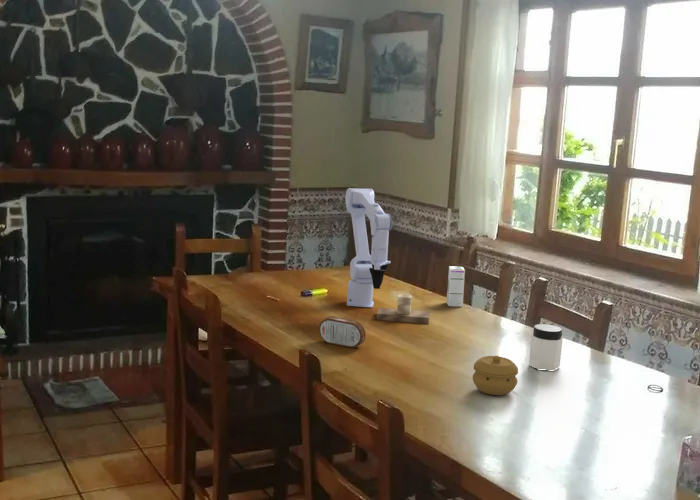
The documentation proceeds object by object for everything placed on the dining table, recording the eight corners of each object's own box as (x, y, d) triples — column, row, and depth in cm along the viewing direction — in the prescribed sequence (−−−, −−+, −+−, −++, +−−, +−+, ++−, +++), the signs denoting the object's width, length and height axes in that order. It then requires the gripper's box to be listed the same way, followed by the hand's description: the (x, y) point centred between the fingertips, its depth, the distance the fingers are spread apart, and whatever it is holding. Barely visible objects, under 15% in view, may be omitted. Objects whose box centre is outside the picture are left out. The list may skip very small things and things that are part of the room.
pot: (469, 383, 220) (472, 348, 219) (512, 386, 220) (515, 350, 218) (474, 398, 209) (477, 361, 207) (519, 401, 209) (523, 364, 207)
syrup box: (462, 307, 306) (466, 269, 303) (447, 306, 306) (450, 268, 303) (461, 303, 311) (464, 266, 309) (445, 302, 311) (448, 265, 309)
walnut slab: (376, 319, 281) (376, 313, 280) (378, 313, 290) (379, 307, 289) (428, 324, 279) (428, 318, 278) (429, 317, 288) (429, 311, 287)
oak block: (397, 313, 282) (398, 296, 281) (397, 310, 286) (399, 294, 285) (409, 314, 281) (411, 298, 280) (410, 311, 286) (411, 295, 285)
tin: (365, 348, 247) (366, 321, 246) (361, 350, 244) (362, 323, 243) (321, 339, 253) (322, 313, 252) (316, 342, 251) (318, 315, 249)
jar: (565, 370, 236) (569, 330, 234) (542, 373, 233) (547, 333, 230) (545, 361, 244) (549, 322, 242) (523, 363, 240) (527, 324, 238)
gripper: (389, 252, 275) (387, 291, 277) (392, 246, 289) (390, 283, 292) (369, 250, 276) (366, 289, 278) (372, 244, 290) (370, 281, 292)
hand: (377, 286), depth 285 cm, fingers open, 7 cm apart
